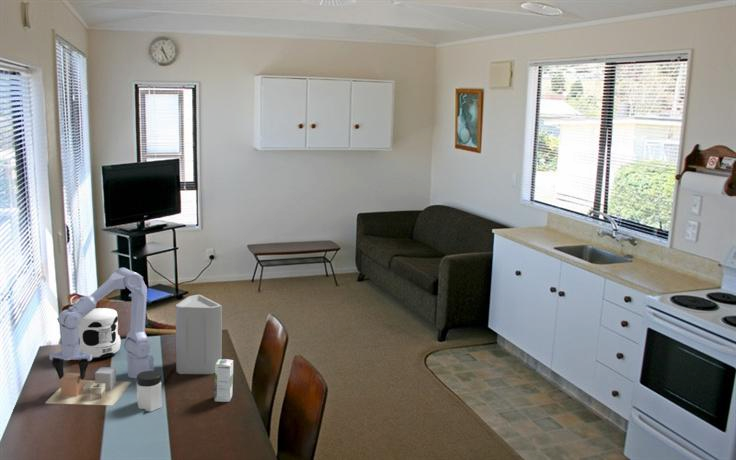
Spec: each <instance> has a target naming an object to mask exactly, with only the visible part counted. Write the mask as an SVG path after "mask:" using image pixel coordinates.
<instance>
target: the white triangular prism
mask: <svg viewBox="0 0 736 460" xmlns="http://www.w3.org/2000/svg"><path fill="white" fill-rule="evenodd" d="M222 310H223V307H222V304H219V302H215V301H213V300H212V299H210V298H207V297H205V296H204V295H202V294H194V295H189V296H187V297H186V298H184V299H182V300H181V301H179V302H178V303H177V304H176V305H175V350H176V351H175V355H176V356H175V357H176V358H175V359H176V360H175V361H176V362H175V364H176V365H175V366H176V369H175V370H176V373H178V374H180V375H215V374H214V373H215V365H216V363H217V361H218V360H219V359H223V358H222V355H223V354H222V350H223V349H222V346H223V345H222V344H223V343H222V341H223V340H222V336H223V335H222V333H223V332H222V331H223V327H222V326H223V325H222V324H223V322H222V320H223V319H222V318H223V317H222V316H223V311H222Z"/></svg>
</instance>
